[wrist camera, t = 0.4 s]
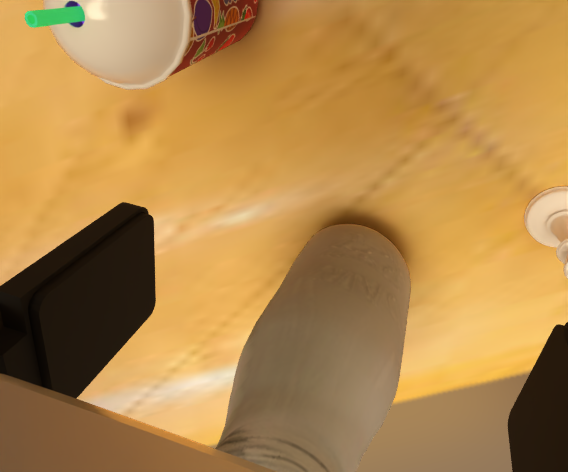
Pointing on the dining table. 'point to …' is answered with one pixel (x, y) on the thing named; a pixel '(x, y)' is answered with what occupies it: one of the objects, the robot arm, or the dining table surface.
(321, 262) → the grey bottle
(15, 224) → the dining table surface
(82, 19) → the smoothie
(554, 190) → the chess piece
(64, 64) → the dining table surface
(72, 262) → the robot arm
